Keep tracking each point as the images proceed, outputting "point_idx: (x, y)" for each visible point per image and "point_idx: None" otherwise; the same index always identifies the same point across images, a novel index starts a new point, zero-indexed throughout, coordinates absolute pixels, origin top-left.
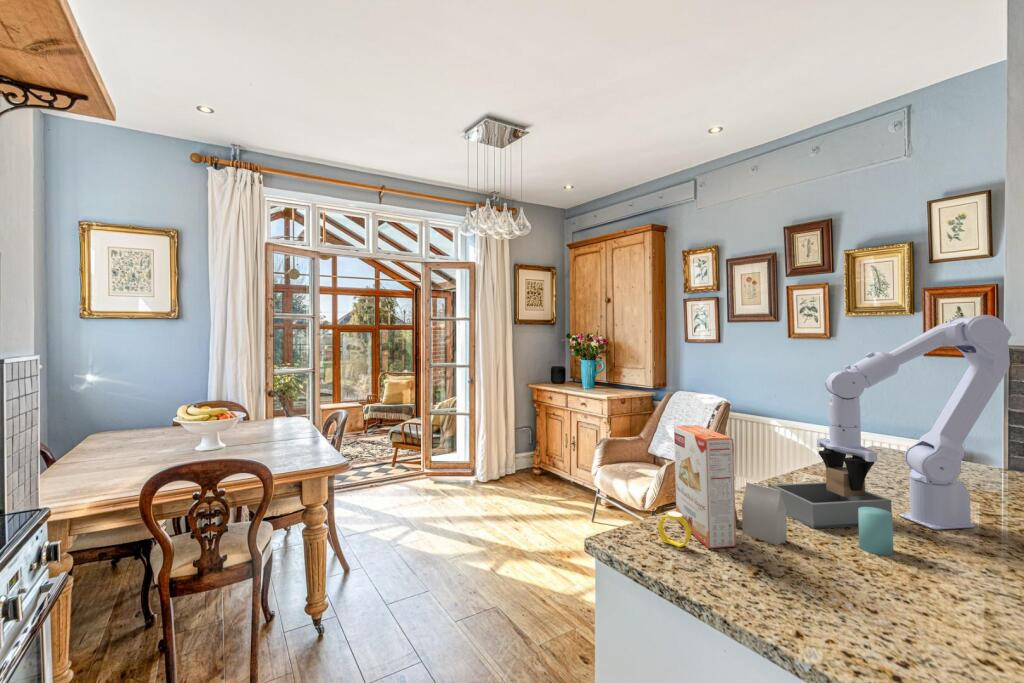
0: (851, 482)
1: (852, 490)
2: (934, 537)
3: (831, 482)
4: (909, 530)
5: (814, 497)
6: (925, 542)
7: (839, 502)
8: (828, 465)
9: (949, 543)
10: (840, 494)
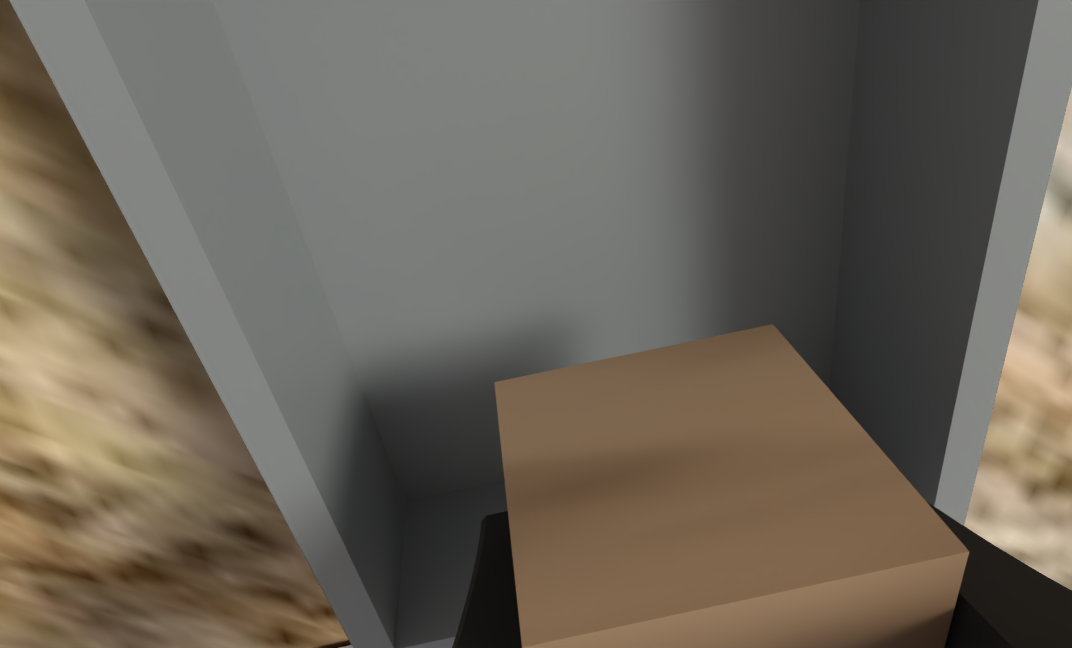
0: (477, 594)
1: (494, 514)
2: (186, 607)
3: (732, 416)
4: (285, 549)
5: (875, 216)
6: (60, 535)
7: (142, 194)
8: (1005, 627)
9: (98, 628)
10: (549, 377)
